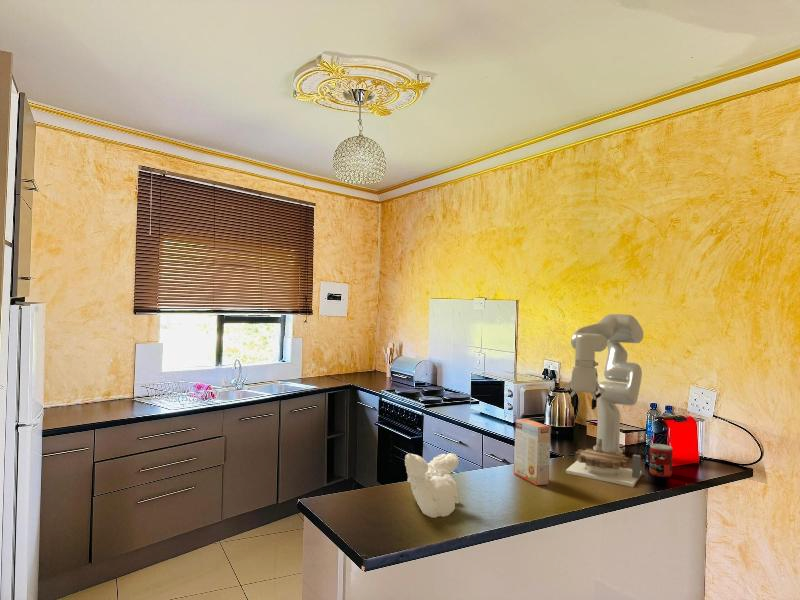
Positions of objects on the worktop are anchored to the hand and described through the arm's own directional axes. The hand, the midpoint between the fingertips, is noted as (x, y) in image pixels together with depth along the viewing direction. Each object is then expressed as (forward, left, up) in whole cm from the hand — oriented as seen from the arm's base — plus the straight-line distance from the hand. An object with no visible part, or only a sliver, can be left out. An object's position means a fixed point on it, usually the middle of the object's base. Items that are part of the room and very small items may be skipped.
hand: (583, 407), depth 206 cm
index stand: (+5, +10, -24) cm, 26 cm away
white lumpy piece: (+76, -26, -24) cm, 84 cm away
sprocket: (+5, +9, -19) cm, 22 cm away
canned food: (-10, +28, -24) cm, 38 cm away
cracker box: (+31, -10, -24) cm, 41 cm away
